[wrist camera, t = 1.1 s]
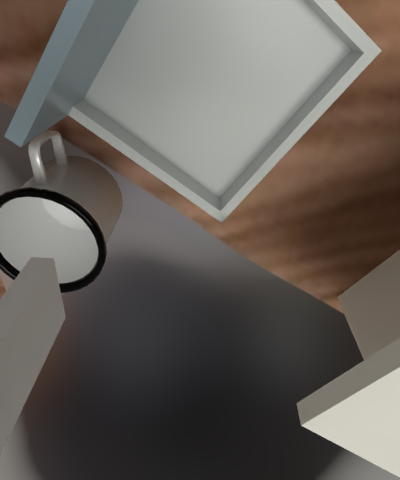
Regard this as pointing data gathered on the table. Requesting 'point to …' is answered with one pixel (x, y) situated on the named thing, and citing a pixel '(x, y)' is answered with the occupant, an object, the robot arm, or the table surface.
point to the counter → (366, 374)
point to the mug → (60, 216)
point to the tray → (195, 84)
